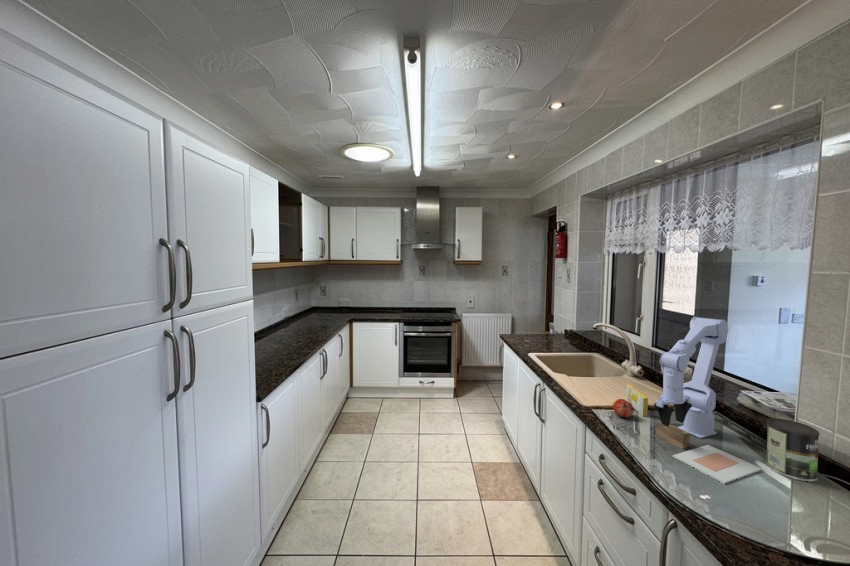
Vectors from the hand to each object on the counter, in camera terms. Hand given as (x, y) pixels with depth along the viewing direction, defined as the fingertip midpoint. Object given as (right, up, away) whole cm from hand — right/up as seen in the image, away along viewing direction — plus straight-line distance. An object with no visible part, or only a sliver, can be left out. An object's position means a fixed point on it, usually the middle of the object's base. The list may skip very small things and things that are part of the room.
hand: (672, 423), depth 112 cm
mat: (+3, -7, -13) cm, 15 cm away
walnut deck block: (0, -7, 0) cm, 7 cm away
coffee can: (+23, -7, -17) cm, 29 cm away
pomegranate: (-5, -6, +20) cm, 22 cm away
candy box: (+5, -6, +27) cm, 28 cm away
